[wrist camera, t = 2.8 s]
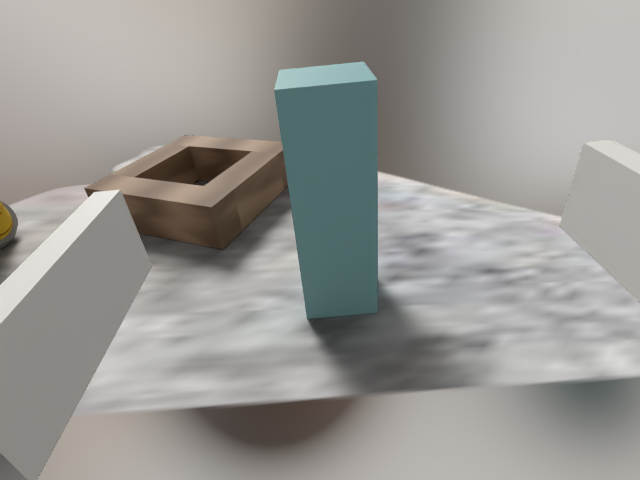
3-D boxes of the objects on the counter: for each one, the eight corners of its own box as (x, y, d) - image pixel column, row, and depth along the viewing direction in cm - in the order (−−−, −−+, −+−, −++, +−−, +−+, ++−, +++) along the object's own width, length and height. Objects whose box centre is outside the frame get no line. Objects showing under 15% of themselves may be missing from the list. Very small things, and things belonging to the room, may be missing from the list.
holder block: (101, 225, 37) (84, 188, 35) (194, 167, 48) (185, 135, 45) (223, 249, 32) (211, 207, 30) (296, 177, 43) (291, 142, 40)
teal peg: (307, 319, 25) (274, 89, 17) (306, 274, 29) (279, 70, 21) (377, 312, 25) (377, 79, 17) (367, 269, 28) (363, 61, 21)
